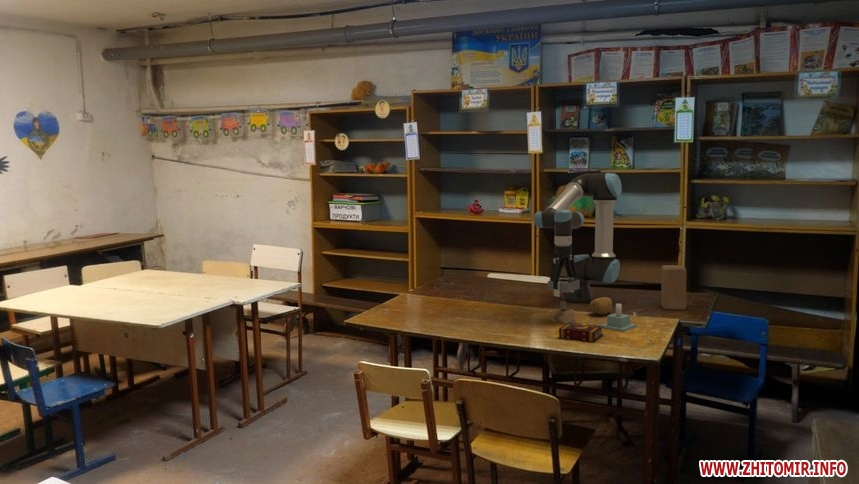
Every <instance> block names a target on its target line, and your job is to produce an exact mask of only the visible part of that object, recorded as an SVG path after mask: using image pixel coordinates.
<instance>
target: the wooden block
mask: <svg viewBox="0 0 859 484" xmlns="http://www.w3.org/2000/svg"><path fill="white" fill-rule="evenodd" d="M660 278H661V285H660V286H661V287H660V290H661V292H660V297H661V298H660V304H661V307H662V308H663V310H671V311H684V310H686V308H687V305H686V304H687V268H686V267H685V266H684V265H682V264H680V265H679V264H678V265H674V264H673V265H668V264H667V265H666V264H665V265H664V264H663V265H662V266H661V277H660Z"/></svg>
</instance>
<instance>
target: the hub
mask: <svg viewBox="0 0 859 484" xmlns="http://www.w3.org/2000/svg"><path fill="white" fill-rule="evenodd" d="M622 306H623V305H622V303H616V304H615V313H612V314H609V315H607V316H606V322H605V323H603V324H599V325H600V326H603V328H602V329H606V330H612V331H618V332H622V333H623V332H626V331H629V330H631V329H634V328H637V327H638V326H637V323H631V315H629V314H625V313H622V311H623V310H622V309H623V308H622Z"/></svg>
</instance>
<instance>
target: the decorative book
mask: <svg viewBox="0 0 859 484" xmlns="http://www.w3.org/2000/svg"><path fill="white" fill-rule="evenodd" d="M600 325H601V324H599V325H597V324H594V325H593V324H588V323H585V322H584V323H577V322H573V321H572V322H568V323H566V324H563V325H562V326H560V327H559V329H558V338H559V339H565V340H569V339H571V340H577V341H581V342H587V343H588V342H593V343H595V342H596V341H598V340H599V339H601V338H602V337H604V333H602V329H604V328H603V326H600Z"/></svg>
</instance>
